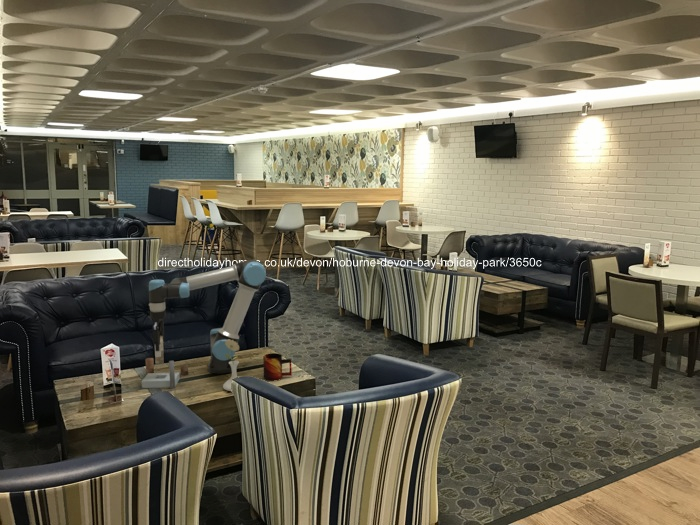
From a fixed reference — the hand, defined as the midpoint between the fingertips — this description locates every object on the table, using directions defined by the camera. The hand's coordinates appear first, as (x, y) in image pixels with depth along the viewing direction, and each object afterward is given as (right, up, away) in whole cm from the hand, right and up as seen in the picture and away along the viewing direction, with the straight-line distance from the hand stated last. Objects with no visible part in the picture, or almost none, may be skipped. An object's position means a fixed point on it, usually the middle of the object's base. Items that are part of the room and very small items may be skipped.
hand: (159, 355), depth 284 cm
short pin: (+8, -13, +16) cm, 22 cm away
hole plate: (+1, -15, +1) cm, 15 cm away
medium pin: (-10, -13, +14) cm, 22 cm away
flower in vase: (+39, -16, -5) cm, 42 cm away
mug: (+58, -14, +12) cm, 61 cm away
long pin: (0, -4, +1) cm, 4 cm away
